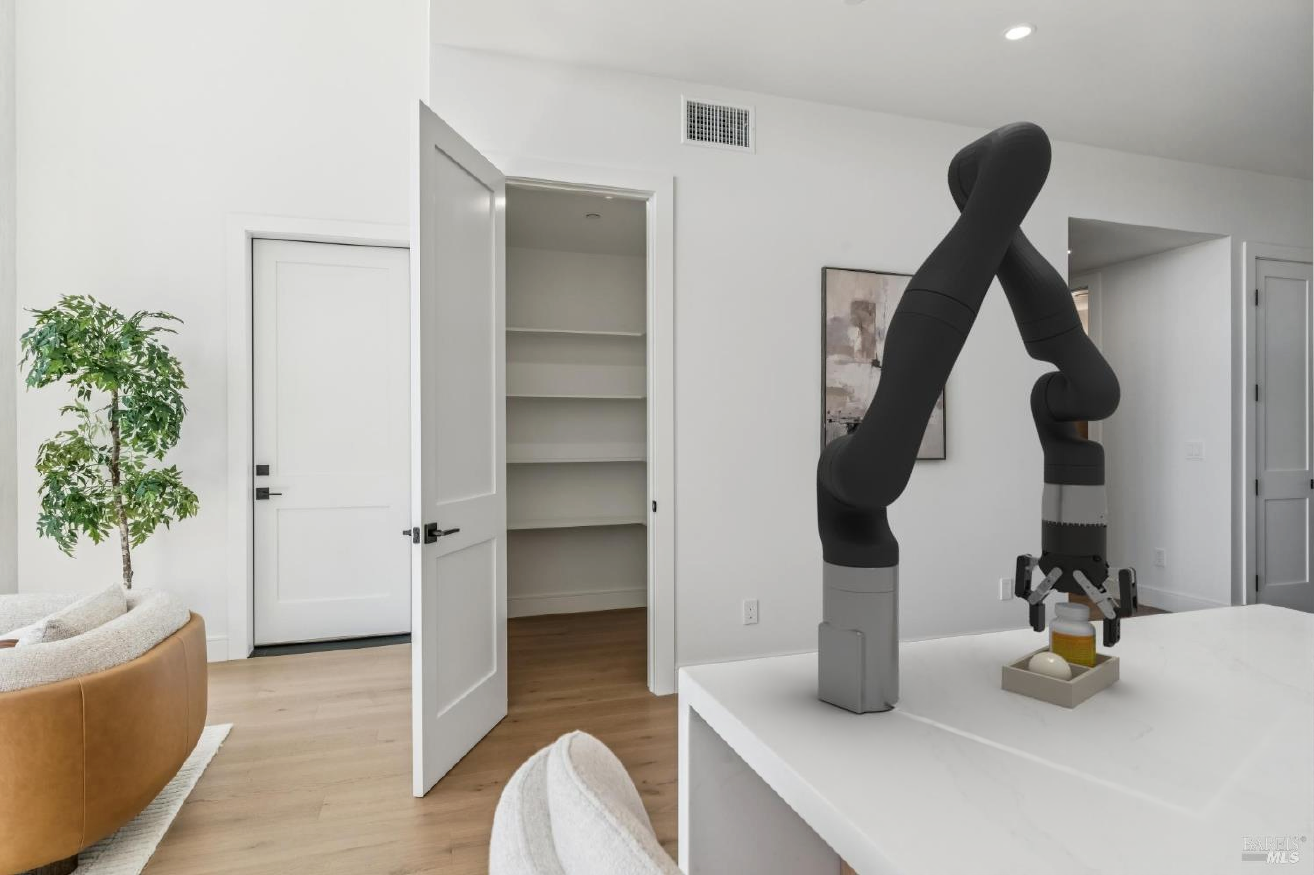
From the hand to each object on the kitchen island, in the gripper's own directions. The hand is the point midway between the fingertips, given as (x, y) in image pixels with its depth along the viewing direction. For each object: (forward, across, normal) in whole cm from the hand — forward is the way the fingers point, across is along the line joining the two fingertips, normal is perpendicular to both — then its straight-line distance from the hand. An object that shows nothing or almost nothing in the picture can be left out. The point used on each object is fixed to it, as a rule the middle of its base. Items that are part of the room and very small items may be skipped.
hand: (1073, 638), depth 92 cm
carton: (+6, 0, -4) cm, 7 cm away
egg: (+5, 0, -8) cm, 9 cm away
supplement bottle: (+5, 0, 0) cm, 5 cm away
